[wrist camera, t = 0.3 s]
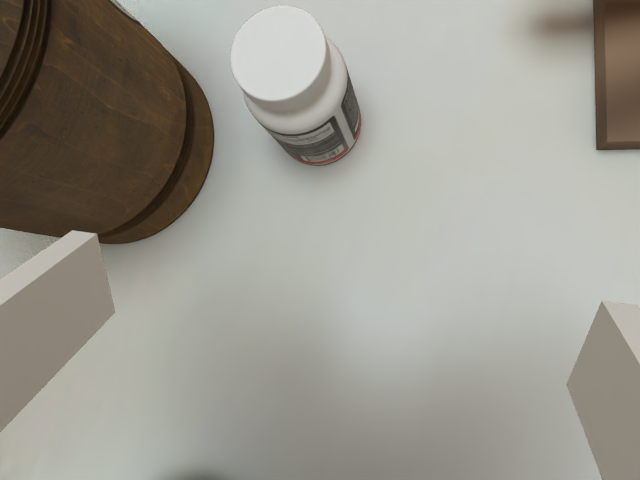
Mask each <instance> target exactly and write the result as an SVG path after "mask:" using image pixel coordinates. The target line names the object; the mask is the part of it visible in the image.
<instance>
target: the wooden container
mask: <svg viewBox="0 0 640 480" xmlns="http://www.w3.org/2000/svg"><path fill="white" fill-rule="evenodd" d="M212 149H213V125H212V117H211V113H210V109H209V106H208V103H207V100H206V98H205V95H204V93H203V91H202V89H201V88H200V86H199V85H198V83H197V82H196V80H195V79H194V78H193V77H192V75H191V74H190V73H189V72H188V71H187V70H186V69H185V68H184V67H183V66H182V65H181V64H180V63H179V62H178V61H177V60H176V59H175V58H174V57H173V56H172V55H171V54H170V53H169V52H168V51H167V50H166V49H165V48H164V47H163V46H162V44H161V43H160V42H159V41H158V40H157V39H156V38H155V37H154V36H153V35H152V34H151V33H150V32H149V31H148V30H147V29H145V28H144V27H143V26H142V25H141V24H140V22H138V21H137V20H136V19H135V18H134V17H133V16H132V15H131V14H130V13H129V12H128V11H127V10H126V9H125V8H124V7H123V6H121V5H120V4H119V3H118V2H117V1H116V0H0V228H6V229H12V230H17V231H23V232H29V233H35V234H41V235H47V236H54V237H61V238H62V237H63V236H65V235H66V234H68V233H69V232H71V231H72V230H73V231H81V232H88V233H96V234H97V236H98V240H99V243H104V244H119V243H128V242H133V241H136V240H140V239H143V238H146V237H148V236H151V235H153V234H155V233H156V232H158V231H160V230H161V229H163V228H164V227H166V226H167V225H169V224H170V223H171V222H173V221H174V220H175V219H176V218H177V217H178V216H179V215H180V214H181V213H182V212H183V211H184V210H185V209H186V208H187V207H188V206H189V205H190V203H191V202H192V201H193V199H194V198H195V196H196V195H197V193H198V191H199V190H200V188H201V186H202V184H203V182H204V179H205V177H206V174H207V171H208V168H209V164H210V160H211V155H212Z"/></svg>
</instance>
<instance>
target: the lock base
mask: <svg viewBox="0 0 640 480" xmlns="http://www.w3.org/2000/svg"><path fill="white" fill-rule="evenodd" d="M594 44H595V93H596V141H597V150H612V149H640V0H594Z"/></svg>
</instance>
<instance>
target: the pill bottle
mask: <svg viewBox="0 0 640 480" xmlns="http://www.w3.org/2000/svg"><path fill="white" fill-rule="evenodd" d="M230 64H231V70H232V73H233V76H234V78H235V80H236V82H237V83H238V85H239V86H240V88H241V89H242V91H243V95H244V98H245V102H246V104H247V107H248V108H249V110H250V112H251V113H252V115H253V116H254V117H255V119H256V120H257V121H258V122H259V123H260V124H261V125H262V126H263V127H264V128H265V129H266V130H267V131H268V132H269V133H270V134H271V135H272V137H273V138H274V139H275V140H276V141H277V142H278V143H279V144H280V145H281V146H282V147H283V148H284V149H285V150H286V152H288V153H289V154H290V155H291V156H292V157H293V158H295V159H297V160H298V161H301V162H303V163H307V164H312V165H322V164H327V163H330V162H333V161H335V160H337V159H339V158H341V157H342V156H343V155H344V154H346V153H347V152H348V151H349V150H350V148H351V147H352V146H353V144H354V143H355V141H356V139H357V137H358V134H359V131H360V125H361V116H360V110H359V106H358V103H357V99H356V96H355V93H354V90H353V87H352V83H351V80H350V77H349V74H348V70H347V67H346V64H345V61H344V59H343V56H342V54H341V52H340V51H339V49H338V48H337V46H336V45H335V44H334V43H333V42H332V41H331V40H330V39H329V38H328V37H327V36H325V35H324V32H323V30H322V28H321V26H320V25H319V23H318V22H317V21H316V20H315V19H314V18H313V17H312V16H311V15H310V14H309V13H307V12H305V11H304V10H302V9H299V8H296V7H292V6H274V7H270V8H267V9H265V10H262V11H260V12H258V13H257V14H255V15H253V16H252V17H251V18H250V19H248V20H247V21H246V22H245V23H244V24H243V26H242V27H241V28H240V30H239V31H238V33H237V35H236V37H235V39H234V41H233V44H232V48H231V54H230Z"/></svg>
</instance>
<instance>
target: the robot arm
mask: <svg viewBox="0 0 640 480" xmlns="http://www.w3.org/2000/svg"><path fill="white" fill-rule="evenodd" d="M114 313H115V308H114V304H113V300H112V296H111V291H110V287H109V283H108V279H107V274H106V270H105V266H104V262H103V257H102V253H101V249H100V245H99V240H98V236H97V234H96V233H88V232H81V231H73V230H72V231H71V232H69V233H68V234H66V235H65V236H63V237H62V238H60V239H59V240H57V241H56V242H55V243H53V244H52V245H50V246H49V247H47V248H46V249H44V250H43V251H41V252H40V253H38V254H37V255H35V256H34V257H32V258H31V259H29V260H28V261H26V262H25V263H24V264H22V265H21V266H19V267H18V268H16V269H15V270H13V271H12V272H10V273H9V274H7V275H6V276H4V277H3V278H1V279H0V432H1V431H2V430H3V429H4V428H5V427H6V426H7V425H8V424H9V423H10V422H11V421H12V419H13V418H14V417H15V416H16V415H17V414H18V413H19V412H20V411H21V410H22V409H23V408H24V407H25V406H26V405H27V404H28V403H29V402H30V401H31V400H32V399H33V398H34V397H35V395H36V394H37V393H38V392H39V391H40V390H41V389H42V388H43V387H44V386H45V385H46V384H47V383H48V382H49V381H50V380H51V379H52V378H53V377H54V376H55V375H56V374H57V373H58V371H59V370H60V369H61V368H62V367H63V366H64V365H65V364H66V363H67V362H68V361H69V360H70V359H71V358H72V357H73V356H74V355H75V354H76V353H77V352H78V351H79V350H80V349H81V347H82V346H83V345H84V344H85V343H86V342H87V341H88V340H89V339H90V338H91V337H92V336H93V335H94V334H95V333H96V332H97V331H98V330H99V329H100V328H101V327H102V326H103V325H104V323H105V322H106V321H107V320H108V319H109V318H110V317H111V316H112V315H113V314H114ZM567 387H568V390H569V392H570V395H571V398H572V400H573V403H574V405H575V408H576V411H577V413H578V416H579V419H580V421H581V424H582V427H583V429H584V432H585V435H586V437H587V440H588V442H589V445H590V448H591V450H592V453H593V456H594V458H595V461H596V464H597V466H598V469H599V471H600V474H601V477H602V479H603V480H640V308H639V307H638V306H637V305H631V304H624V303H616V302H609V301H602V302H601V304H600V306H599V309H598V311H597V313H596V316H595V318H594V321H593V323H592V325H591V328H590V330H589V332H588V335H587V337H586V340H585V342H584V344H583V347H582V349H581V351H580V354H579V356H578V359H577V361H576V363H575V366H574V368H573V370H572V373H571V375H570V378H569V380H568V382H567Z"/></svg>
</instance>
